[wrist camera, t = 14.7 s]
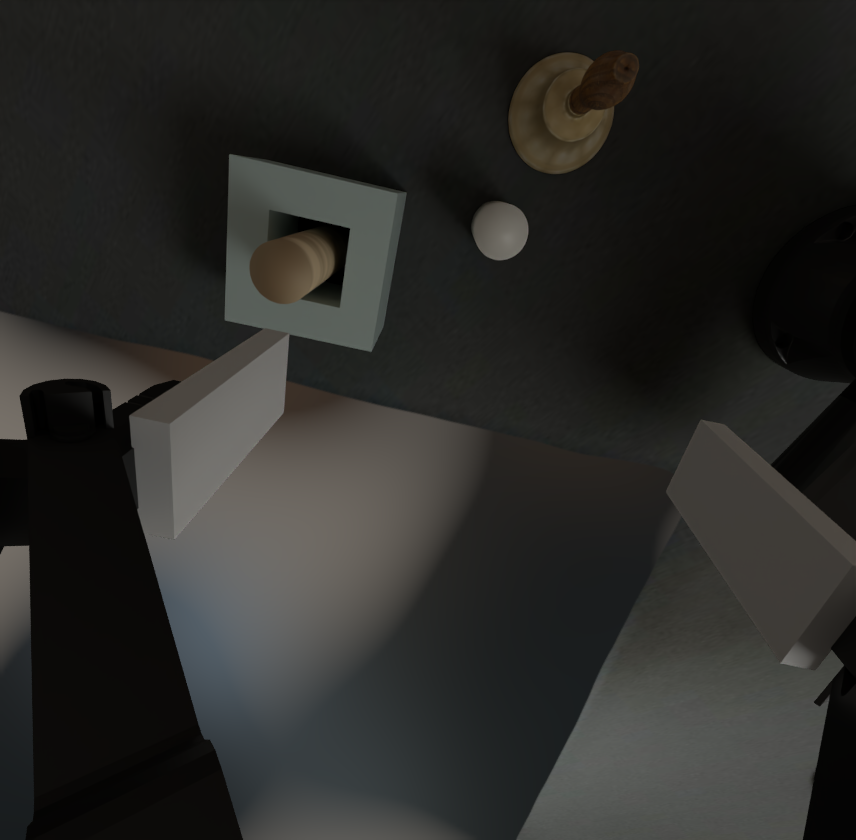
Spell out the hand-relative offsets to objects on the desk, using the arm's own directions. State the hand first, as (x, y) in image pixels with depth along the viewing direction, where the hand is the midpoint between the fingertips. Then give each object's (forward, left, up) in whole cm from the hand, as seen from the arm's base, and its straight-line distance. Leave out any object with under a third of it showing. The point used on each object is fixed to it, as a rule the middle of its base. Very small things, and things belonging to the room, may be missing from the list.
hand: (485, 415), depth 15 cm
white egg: (-2, -4, -32) cm, 32 cm away
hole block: (+12, +1, -32) cm, 34 cm away
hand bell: (-5, -13, -32) cm, 35 cm away
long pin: (+12, +1, -32) cm, 34 cm away
